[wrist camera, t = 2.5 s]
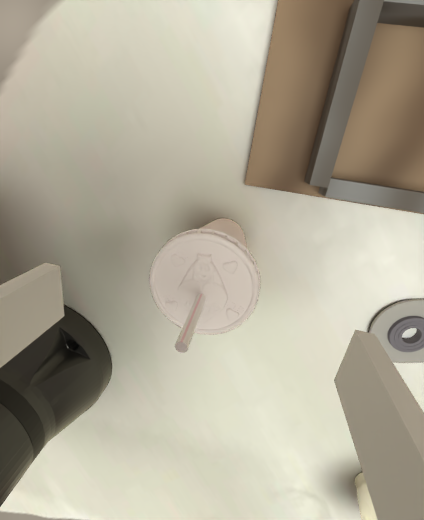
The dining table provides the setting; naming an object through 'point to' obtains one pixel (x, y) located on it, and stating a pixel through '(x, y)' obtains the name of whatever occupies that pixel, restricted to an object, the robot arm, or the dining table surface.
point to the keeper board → (344, 103)
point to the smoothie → (205, 280)
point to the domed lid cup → (364, 499)
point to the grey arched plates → (401, 331)
